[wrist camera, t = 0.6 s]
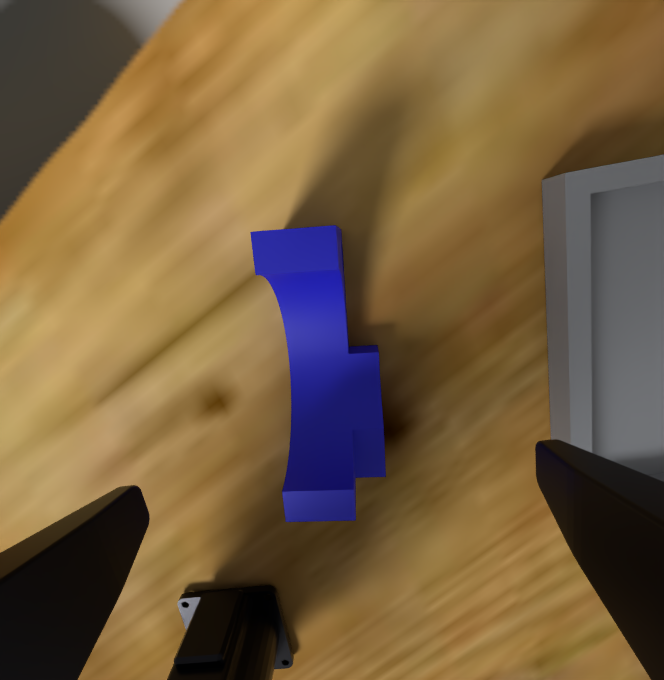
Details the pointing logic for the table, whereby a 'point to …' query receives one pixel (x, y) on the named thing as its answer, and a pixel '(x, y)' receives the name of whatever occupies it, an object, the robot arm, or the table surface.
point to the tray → (607, 310)
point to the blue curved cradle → (322, 375)
